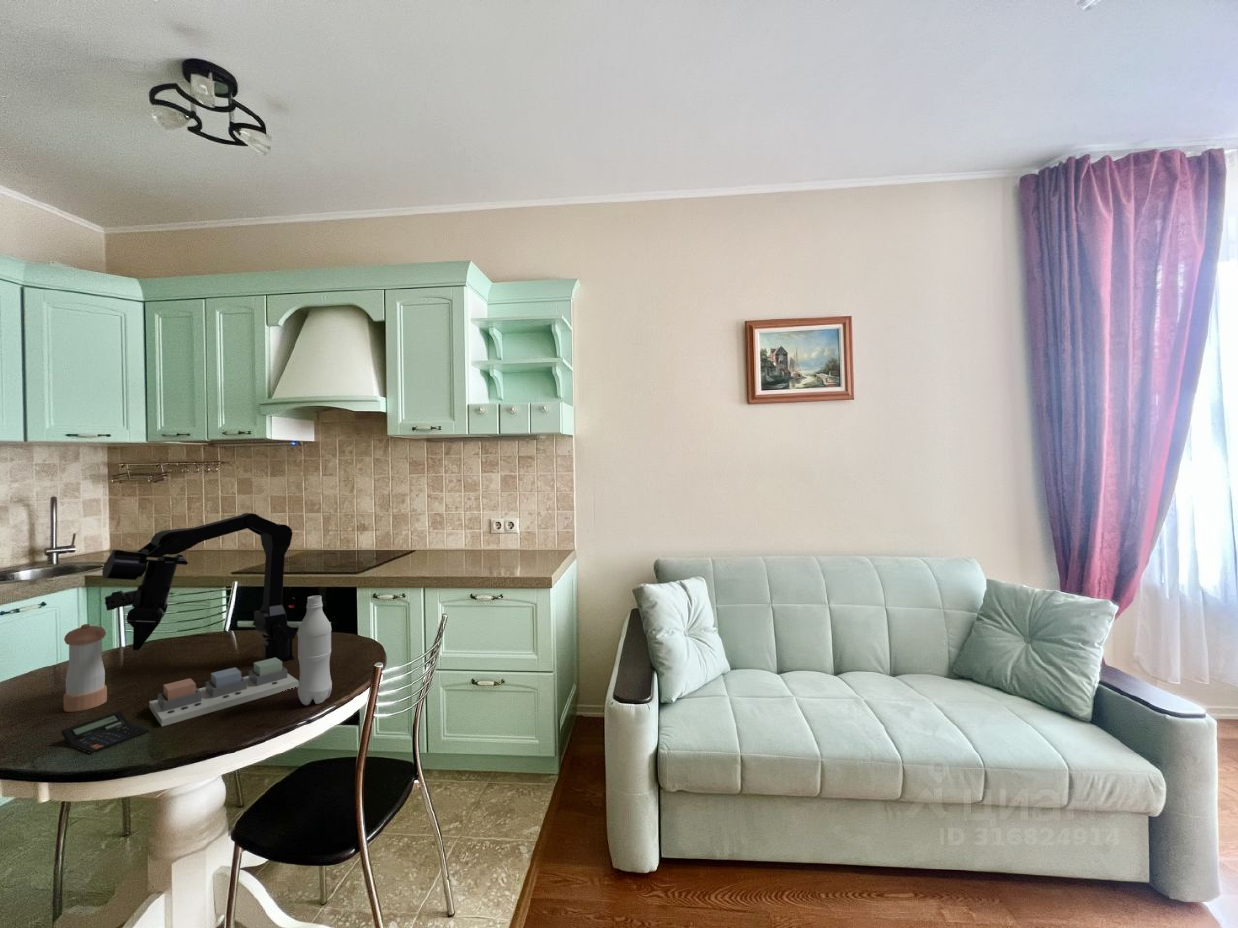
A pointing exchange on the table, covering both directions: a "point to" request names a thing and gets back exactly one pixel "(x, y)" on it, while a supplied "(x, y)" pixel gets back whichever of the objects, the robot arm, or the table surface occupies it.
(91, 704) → the pepper shaker
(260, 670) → the one dot button
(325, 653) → the water bottle
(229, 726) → the table surface
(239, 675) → the two dot button
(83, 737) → the calculator
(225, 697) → the button board
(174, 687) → the three dot button
